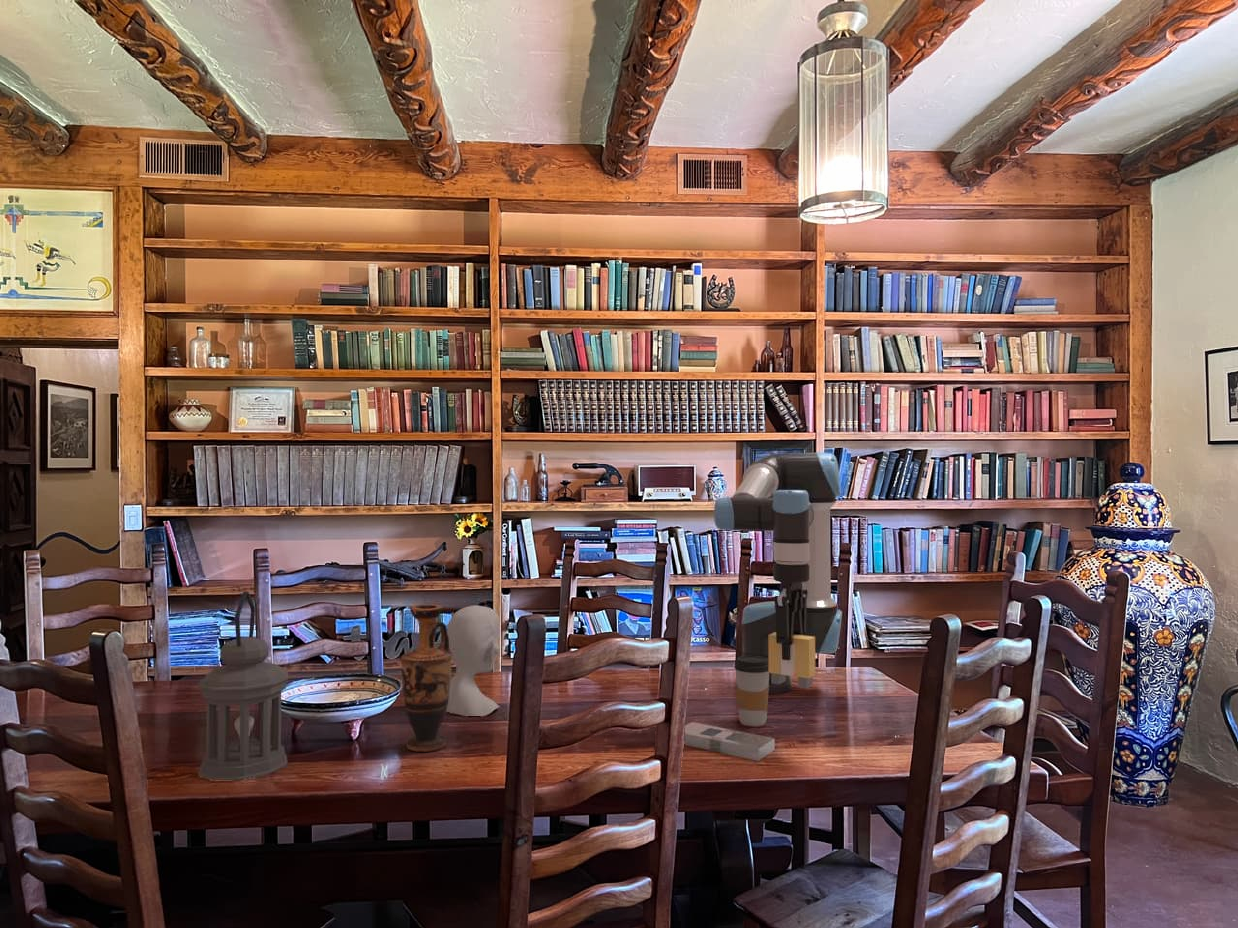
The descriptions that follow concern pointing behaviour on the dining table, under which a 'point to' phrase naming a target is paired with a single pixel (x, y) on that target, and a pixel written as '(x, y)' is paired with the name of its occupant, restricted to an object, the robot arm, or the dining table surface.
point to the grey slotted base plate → (728, 741)
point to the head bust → (472, 658)
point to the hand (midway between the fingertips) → (791, 672)
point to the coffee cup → (752, 689)
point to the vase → (427, 680)
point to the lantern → (243, 708)
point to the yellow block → (803, 660)
